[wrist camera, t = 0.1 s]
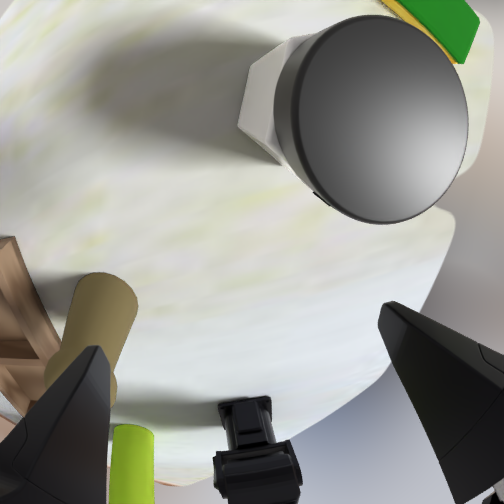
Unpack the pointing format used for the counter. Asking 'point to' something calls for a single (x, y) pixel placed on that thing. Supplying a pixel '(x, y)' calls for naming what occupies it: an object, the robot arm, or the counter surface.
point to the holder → (22, 332)
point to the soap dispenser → (132, 466)
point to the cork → (95, 324)
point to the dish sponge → (441, 23)
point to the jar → (361, 116)
